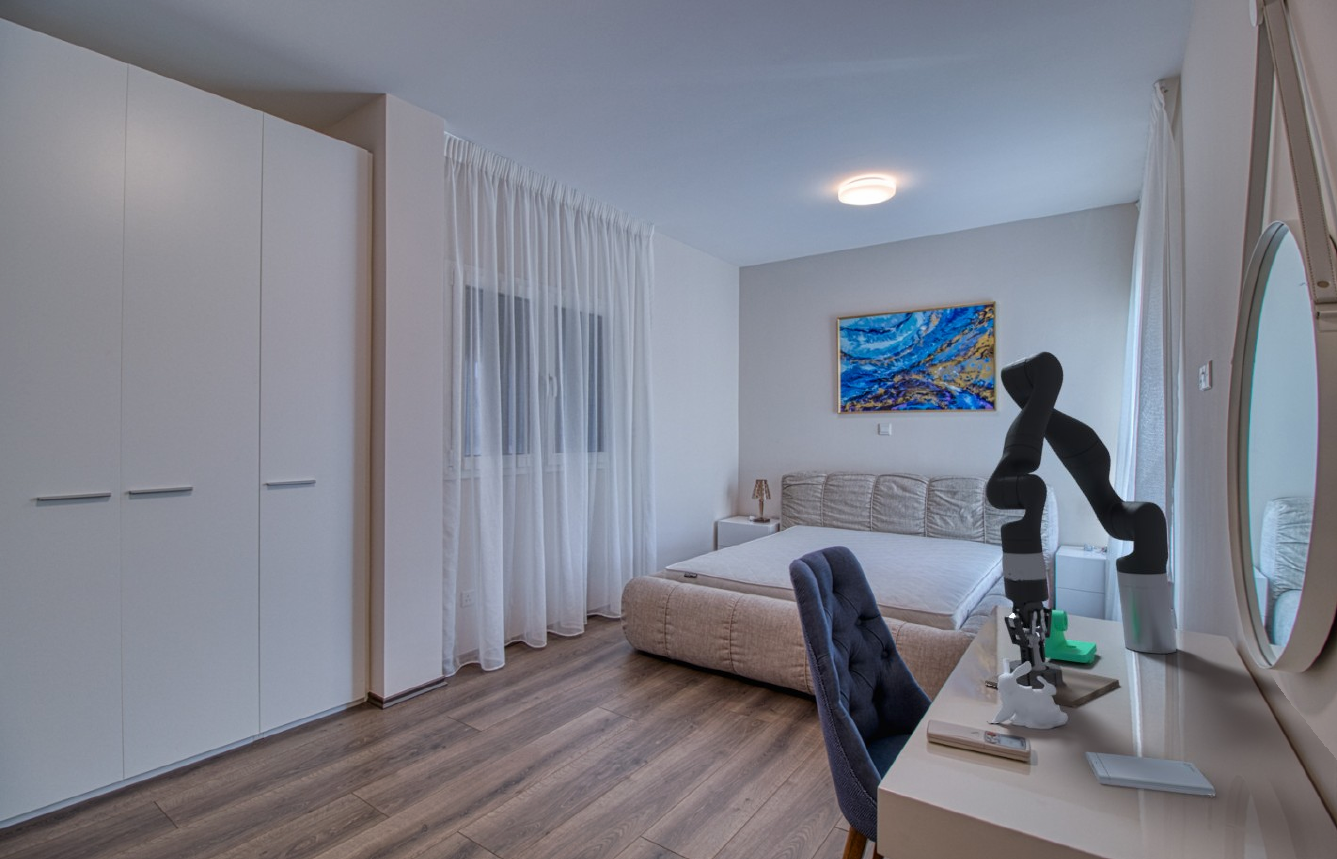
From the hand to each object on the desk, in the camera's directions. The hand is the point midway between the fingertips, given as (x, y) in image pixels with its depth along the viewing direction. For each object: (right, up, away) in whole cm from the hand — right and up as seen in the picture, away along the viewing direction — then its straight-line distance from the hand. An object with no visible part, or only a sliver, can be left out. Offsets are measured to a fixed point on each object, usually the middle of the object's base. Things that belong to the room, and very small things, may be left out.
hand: (1033, 663), depth 122 cm
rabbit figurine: (-11, -3, -17) cm, 21 cm away
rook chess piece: (0, -2, 0) cm, 2 cm away
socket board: (+3, -4, -1) cm, 5 cm away
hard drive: (-7, -2, -38) cm, 38 cm away
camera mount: (+18, -5, +15) cm, 24 cm away
